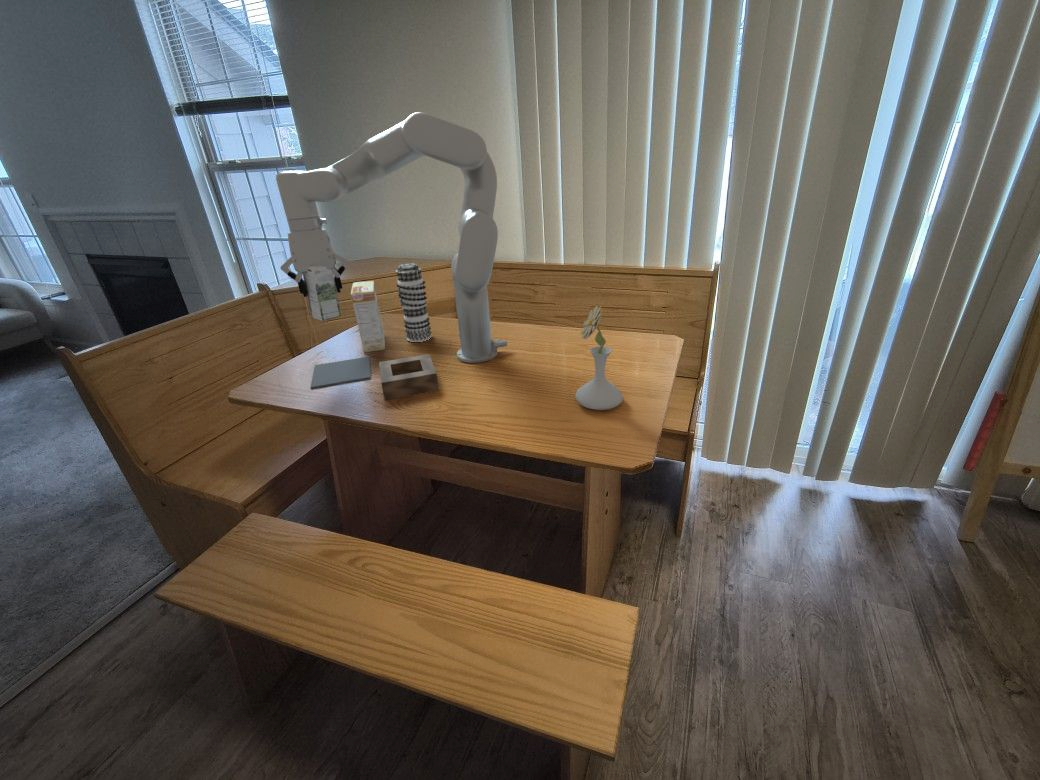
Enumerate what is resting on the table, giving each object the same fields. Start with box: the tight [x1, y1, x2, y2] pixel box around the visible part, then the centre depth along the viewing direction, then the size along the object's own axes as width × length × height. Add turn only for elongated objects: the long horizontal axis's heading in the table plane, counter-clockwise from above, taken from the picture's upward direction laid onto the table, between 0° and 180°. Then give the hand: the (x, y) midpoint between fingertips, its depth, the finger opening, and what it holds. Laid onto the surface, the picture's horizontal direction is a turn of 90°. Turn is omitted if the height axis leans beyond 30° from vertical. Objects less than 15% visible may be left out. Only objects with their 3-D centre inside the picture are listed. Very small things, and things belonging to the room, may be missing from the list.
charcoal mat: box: [310, 356, 372, 390], centre depth 132 cm, size 16×16×1 cm
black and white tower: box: [395, 262, 433, 343], centre depth 149 cm, size 9×9×25 cm
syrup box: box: [302, 266, 342, 322], centre depth 121 cm, size 6×6×14 cm
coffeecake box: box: [350, 280, 386, 353], centre depth 148 cm, size 15×7×20 cm, turn 15°
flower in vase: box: [574, 305, 624, 411], centre depth 103 cm, size 13×11×25 cm
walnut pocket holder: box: [378, 353, 440, 401], centre depth 122 cm, size 14×14×5 cm
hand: (322, 293), depth 121 cm, fingers closed on syrup box, 8 cm apart
